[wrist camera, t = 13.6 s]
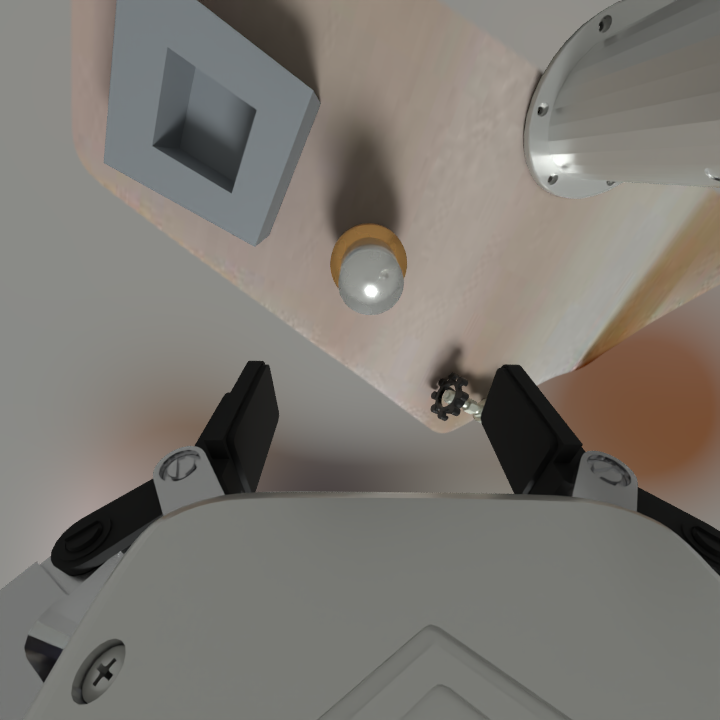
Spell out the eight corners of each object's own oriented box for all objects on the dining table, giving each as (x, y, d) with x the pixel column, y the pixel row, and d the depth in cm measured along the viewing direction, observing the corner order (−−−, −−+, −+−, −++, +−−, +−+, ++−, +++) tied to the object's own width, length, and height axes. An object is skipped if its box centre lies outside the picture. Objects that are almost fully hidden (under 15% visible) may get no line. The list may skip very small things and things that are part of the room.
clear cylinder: (403, 216, 29) (421, 236, 21) (397, 286, 33) (411, 325, 25) (331, 216, 29) (322, 236, 21) (335, 286, 33) (328, 325, 25)
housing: (169, -13, 20) (121, -59, 16) (320, 103, 24) (313, 90, 20) (143, 163, 26) (103, 162, 22) (268, 235, 30) (254, 246, 25)
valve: (516, 395, 43) (454, 363, 39) (540, 428, 37) (470, 394, 34) (485, 422, 46) (425, 394, 42) (502, 456, 40) (436, 428, 37)
